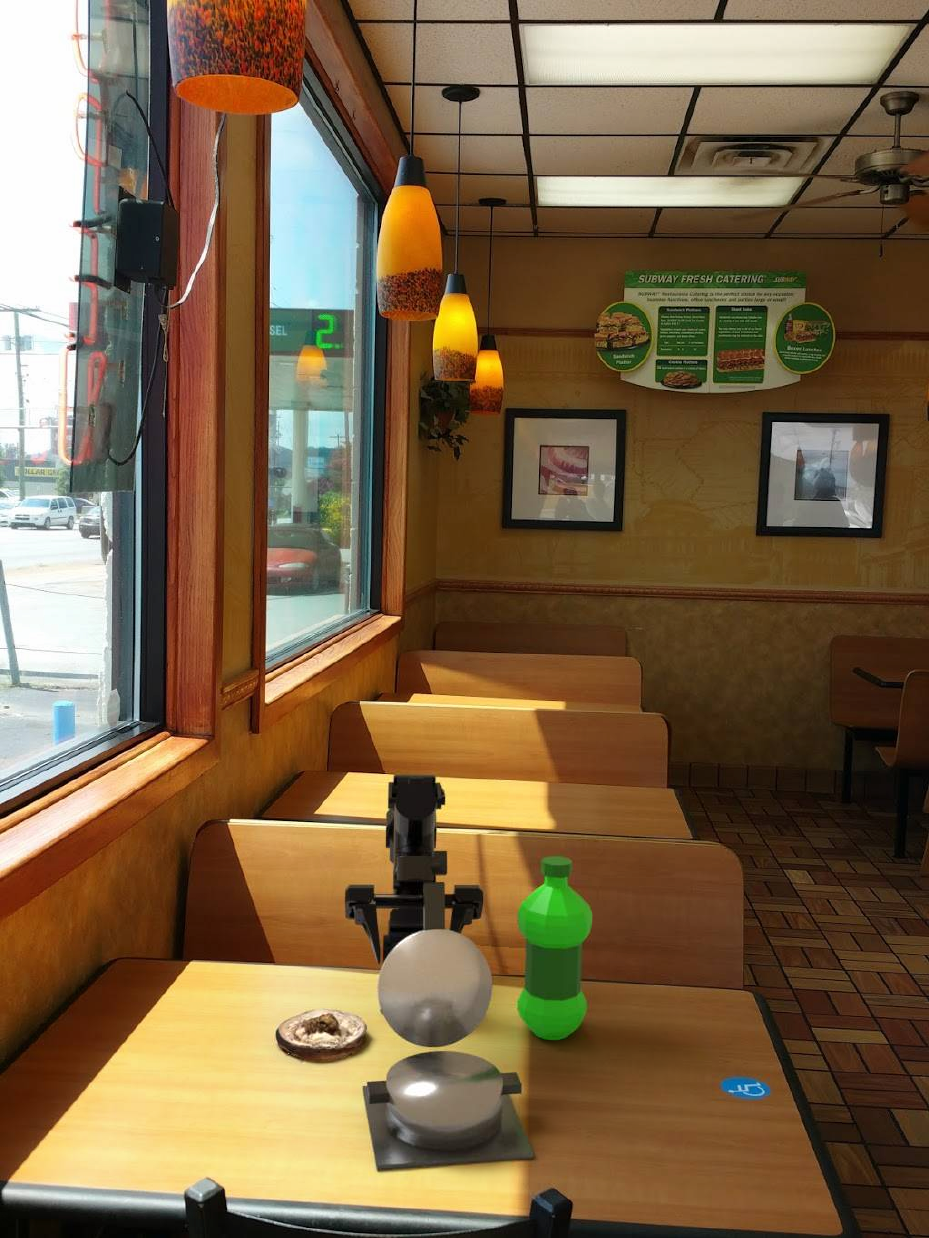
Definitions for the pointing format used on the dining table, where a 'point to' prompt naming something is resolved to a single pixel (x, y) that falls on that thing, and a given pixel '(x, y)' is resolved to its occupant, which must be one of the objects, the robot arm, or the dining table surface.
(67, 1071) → the dining table surface
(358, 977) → the dining table surface
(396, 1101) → the cooker pot
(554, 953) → the plastic bottle
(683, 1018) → the dining table surface
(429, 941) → the cooker lid
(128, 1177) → the dining table surface
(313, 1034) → the bowl of rice
